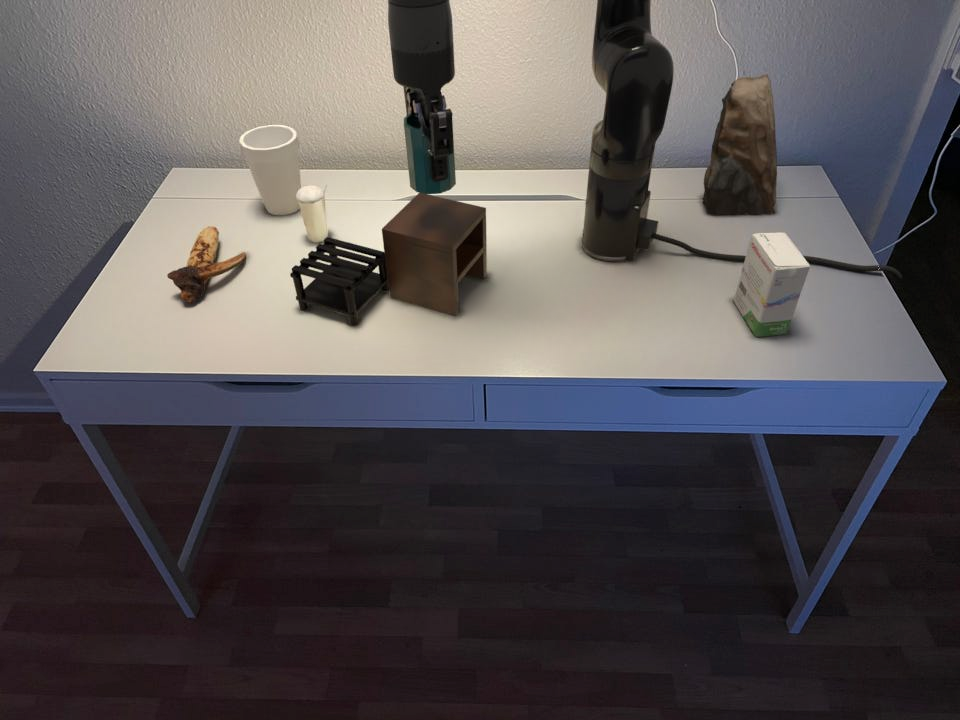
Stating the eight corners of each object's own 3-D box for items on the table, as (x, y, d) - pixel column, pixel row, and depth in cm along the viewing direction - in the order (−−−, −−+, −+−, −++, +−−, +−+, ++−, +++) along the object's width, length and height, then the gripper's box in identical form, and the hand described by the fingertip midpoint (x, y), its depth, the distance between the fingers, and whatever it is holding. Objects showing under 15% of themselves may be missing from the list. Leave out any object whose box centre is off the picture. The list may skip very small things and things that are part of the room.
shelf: (487, 275, 112) (486, 207, 104) (455, 316, 105) (451, 246, 96) (424, 259, 115) (419, 192, 107) (390, 297, 108) (381, 228, 100)
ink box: (788, 335, 100) (813, 265, 92) (753, 337, 100) (776, 268, 92) (763, 297, 107) (785, 229, 99) (731, 300, 106) (750, 232, 98)
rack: (391, 288, 110) (386, 249, 105) (355, 326, 103) (348, 287, 98) (336, 273, 113) (328, 235, 108) (298, 309, 106) (289, 270, 102)
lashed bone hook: (232, 307, 108) (253, 238, 121) (225, 282, 104) (247, 214, 117) (168, 308, 107) (196, 239, 120) (159, 283, 104) (189, 215, 117)
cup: (463, 176, 99) (460, 113, 93) (442, 197, 95) (438, 133, 89) (423, 168, 101) (418, 106, 95) (401, 188, 97) (394, 125, 91)
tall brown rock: (701, 216, 123) (726, 102, 110) (685, 180, 133) (706, 71, 119) (775, 215, 123) (809, 100, 110) (753, 179, 133) (782, 69, 119)
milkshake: (331, 246, 119) (321, 192, 112) (300, 243, 119) (288, 189, 113) (340, 231, 122) (331, 178, 115) (310, 228, 123) (299, 175, 116)
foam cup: (321, 201, 129) (308, 132, 121) (285, 225, 124) (269, 154, 115) (282, 188, 133) (267, 120, 124) (246, 210, 128) (227, 141, 119)
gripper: (471, 54, 81) (475, 187, 93) (433, 16, 91) (441, 140, 103) (407, 64, 79) (419, 198, 91) (376, 25, 90) (391, 150, 101)
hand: (431, 167), depth 97 cm, fingers closed on cup, 6 cm apart
